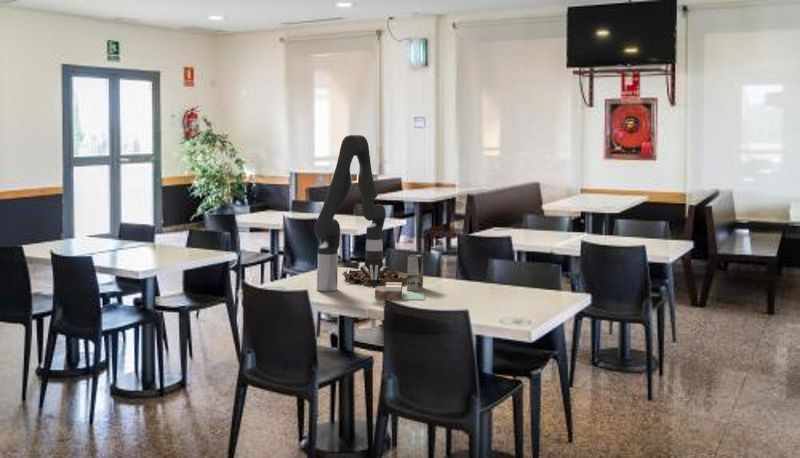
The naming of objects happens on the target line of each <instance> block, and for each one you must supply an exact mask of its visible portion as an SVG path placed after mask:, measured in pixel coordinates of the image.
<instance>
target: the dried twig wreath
mask: <svg viewBox="0 0 800 458" xmlns="http://www.w3.org/2000/svg"><path fill="white" fill-rule="evenodd" d="M382 271H383V270H382V269H380V271H378V275H380V273H381V272H382ZM366 272H367V273H368V274H369V275H370V271H369V270H368V269H366ZM341 274H342V275H343V277H344V281H345V282H346V283H347V284H350V285H353V284H355V286H357V285H356V284H360V285H359V286H362V285H364V286H363V287H371V279H369V278H367V277H366V276H365V275H364V273H363V272H362V271H361V269H357V270H352V269H350V270H349V271H348V269H346V270H345V271H343V272H342V273H341ZM373 276H374V278H375V272H373ZM386 282H398V283H402V287H404V286H407V272H401V271H395V270H387V271H386V272H385V273H384V275H383V276H382V277H381V278H379V279H377V286H386Z"/></svg>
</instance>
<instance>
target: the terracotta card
mask: <svg viewBox="0 0 800 458" xmlns="http://www.w3.org/2000/svg"><path fill="white" fill-rule="evenodd" d="M386 285H402V283H398V282H386ZM401 289H402V290H403V286H402V287H401Z"/></svg>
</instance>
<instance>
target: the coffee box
mask: <svg viewBox="0 0 800 458" xmlns="http://www.w3.org/2000/svg"><path fill="white" fill-rule="evenodd" d="M406 273H407V285H406V291H415V292H419V291H421V290H422V289H423V288H424V254H419V253H418V254H416V253H415V254H412V253H411V254H410V255H408V256H407V271H406Z"/></svg>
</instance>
